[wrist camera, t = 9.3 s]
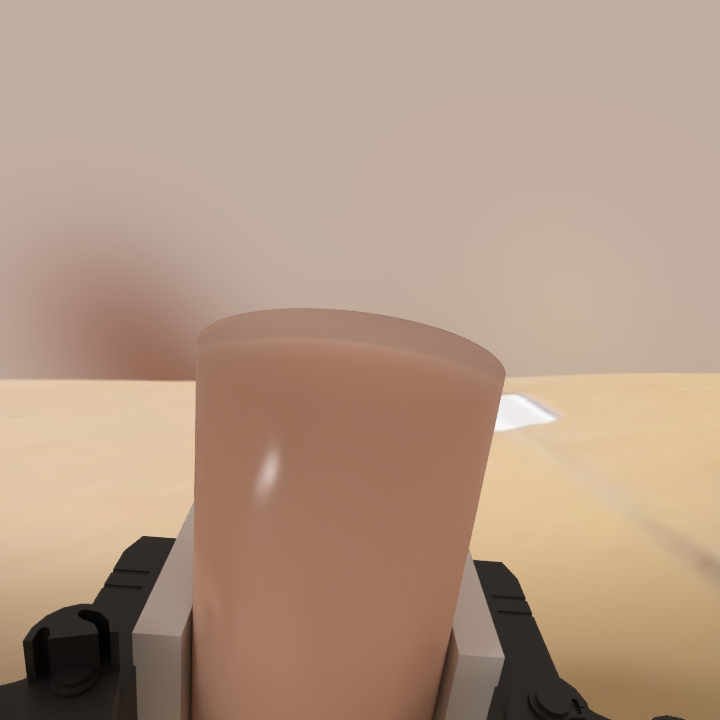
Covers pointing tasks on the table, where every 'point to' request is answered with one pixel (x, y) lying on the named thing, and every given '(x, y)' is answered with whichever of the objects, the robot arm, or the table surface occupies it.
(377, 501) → the tall peach cylinder
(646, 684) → the table surface
